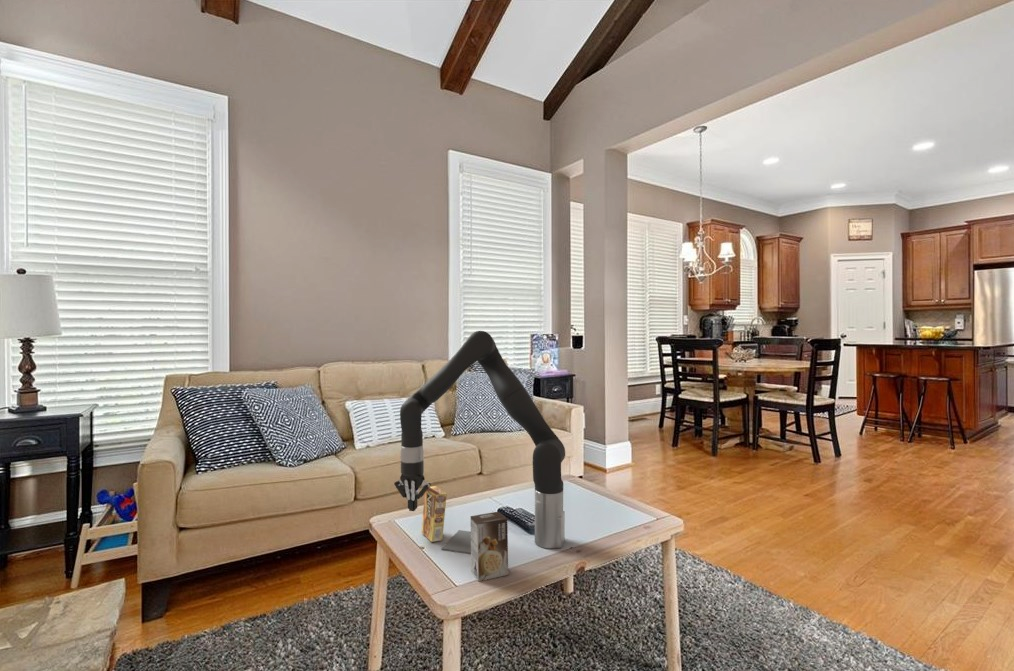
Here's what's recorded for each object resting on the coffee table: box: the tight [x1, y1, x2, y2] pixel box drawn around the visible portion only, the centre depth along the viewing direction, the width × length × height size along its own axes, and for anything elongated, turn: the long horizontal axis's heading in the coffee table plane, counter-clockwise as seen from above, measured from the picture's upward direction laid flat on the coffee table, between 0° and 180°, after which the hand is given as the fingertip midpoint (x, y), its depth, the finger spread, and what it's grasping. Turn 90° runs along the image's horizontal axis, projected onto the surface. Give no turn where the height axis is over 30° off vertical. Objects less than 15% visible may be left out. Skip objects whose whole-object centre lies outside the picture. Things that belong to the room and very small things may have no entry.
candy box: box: [420, 486, 448, 542], centre depth 159 cm, size 9×4×15 cm, turn 33°
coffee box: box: [470, 511, 509, 582], centre depth 135 cm, size 9×6×16 cm
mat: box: [440, 529, 471, 555], centre depth 154 cm, size 15×14×1 cm
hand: (412, 510), depth 160 cm, fingers closed
